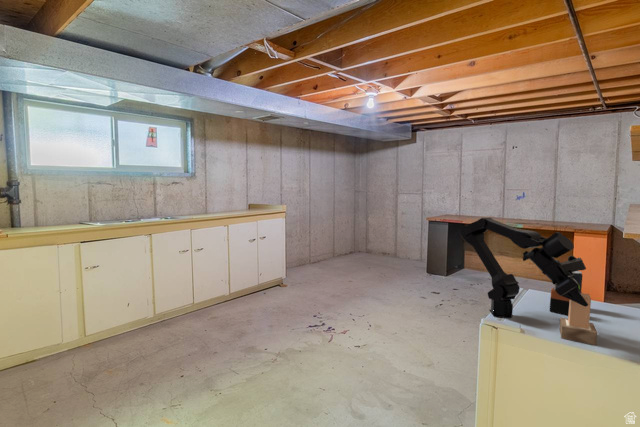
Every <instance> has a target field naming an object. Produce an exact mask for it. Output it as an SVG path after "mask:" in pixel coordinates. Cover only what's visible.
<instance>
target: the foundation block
mask: <svg viewBox="0 0 640 427" xmlns="http://www.w3.org/2000/svg"><path fill="white" fill-rule="evenodd" d="M559 332H560V334H559V335H560V338H561V339H563V340H568V341H573V342H578V343H582V344H588V345H592V346H593V345H594V346H597V340H598V331H597V329H596V326H595V324H594V323H593V322H589V329H586V328H580V327H575V326H570V325H569V322H568V318H566V317H560V318H559Z"/></svg>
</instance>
